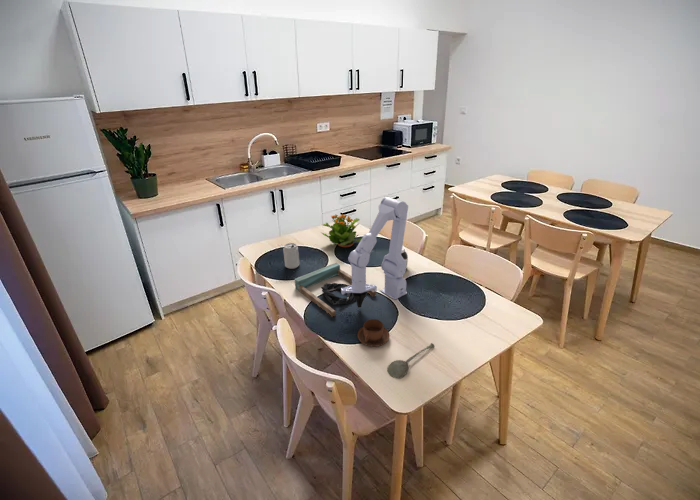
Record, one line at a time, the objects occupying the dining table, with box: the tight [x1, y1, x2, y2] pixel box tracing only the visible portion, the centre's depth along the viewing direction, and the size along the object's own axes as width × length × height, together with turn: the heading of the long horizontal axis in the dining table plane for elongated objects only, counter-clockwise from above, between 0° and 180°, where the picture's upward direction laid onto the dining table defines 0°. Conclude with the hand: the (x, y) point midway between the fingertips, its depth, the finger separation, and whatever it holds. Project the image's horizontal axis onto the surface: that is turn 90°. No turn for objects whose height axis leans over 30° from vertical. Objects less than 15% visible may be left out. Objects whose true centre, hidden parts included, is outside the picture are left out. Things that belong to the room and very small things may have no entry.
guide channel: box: [294, 262, 377, 318], centre depth 163 cm, size 29×24×5 cm
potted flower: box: [321, 214, 362, 248], centre depth 204 cm, size 25×24×18 cm
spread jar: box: [387, 245, 409, 269], centre depth 178 cm, size 12×11×12 cm
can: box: [282, 242, 300, 270], centre depth 184 cm, size 8×8×12 cm
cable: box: [320, 282, 356, 306], centre depth 161 cm, size 17×14×4 cm
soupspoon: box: [386, 342, 435, 380], centre depth 124 cm, size 22×3×7 cm
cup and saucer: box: [356, 318, 390, 347], centre depth 133 cm, size 12×12×6 cm
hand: (359, 306), depth 151 cm, fingers closed
